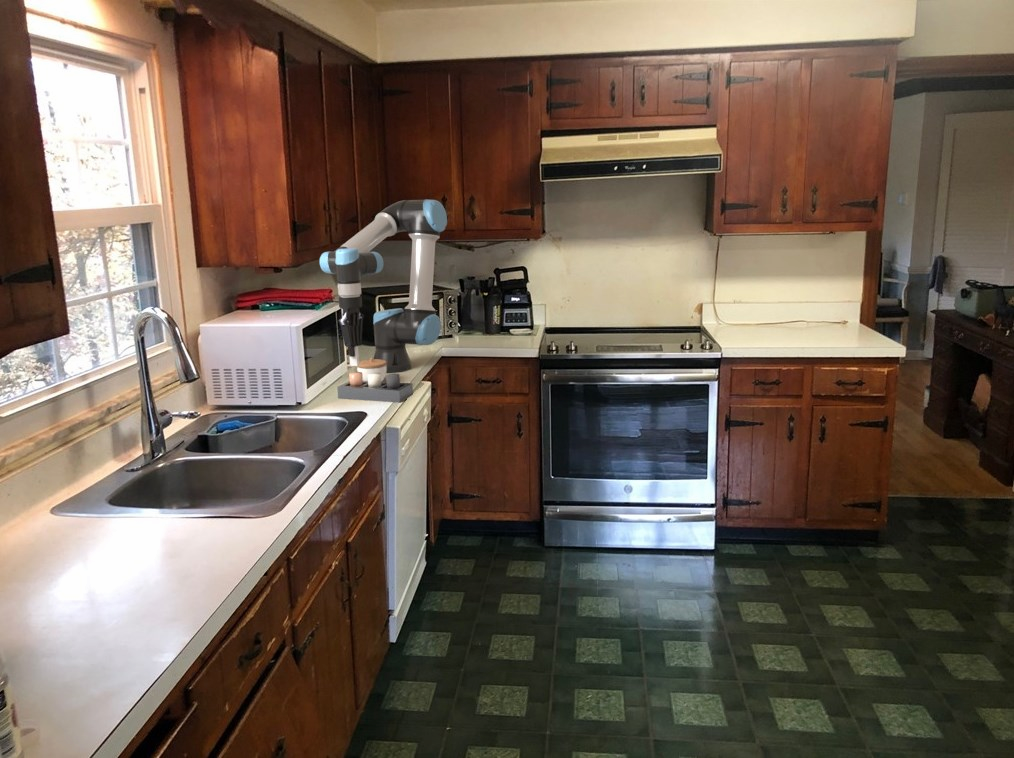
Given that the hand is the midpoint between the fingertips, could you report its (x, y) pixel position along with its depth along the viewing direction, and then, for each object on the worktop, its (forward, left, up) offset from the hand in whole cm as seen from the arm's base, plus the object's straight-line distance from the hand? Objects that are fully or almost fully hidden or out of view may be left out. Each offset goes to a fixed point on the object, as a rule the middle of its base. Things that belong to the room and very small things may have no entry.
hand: (354, 365), depth 268 cm
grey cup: (0, +14, -8) cm, 16 cm away
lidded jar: (-17, -3, -11) cm, 21 cm away
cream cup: (0, +7, -8) cm, 10 cm away
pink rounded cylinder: (0, 0, -8) cm, 8 cm away
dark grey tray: (0, +7, -11) cm, 13 cm away
